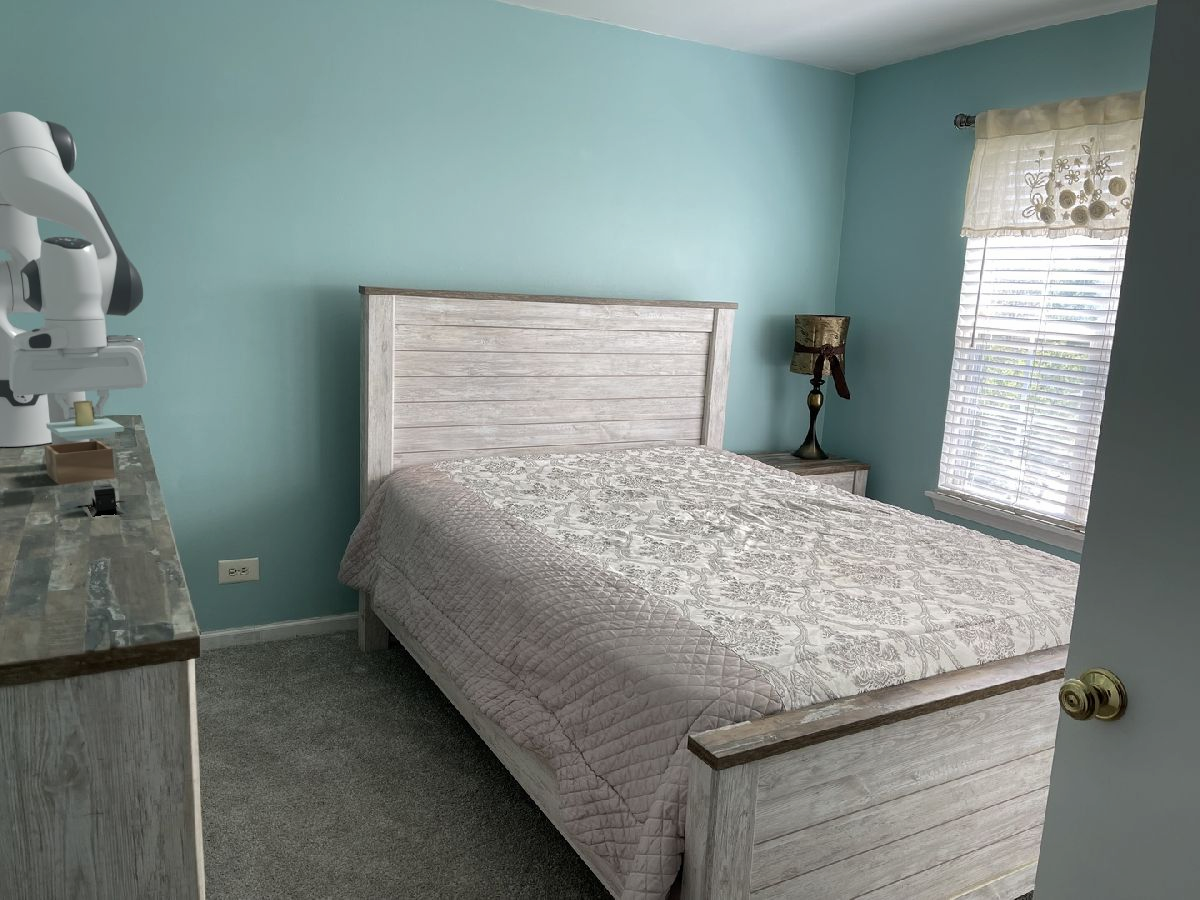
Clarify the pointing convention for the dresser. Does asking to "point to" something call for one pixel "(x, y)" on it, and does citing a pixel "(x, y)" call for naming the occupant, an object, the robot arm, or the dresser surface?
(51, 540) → the dresser surface
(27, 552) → the dresser surface
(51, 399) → the travel mug
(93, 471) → the box
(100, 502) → the black stepped block
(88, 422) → the lid
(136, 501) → the dresser surface
